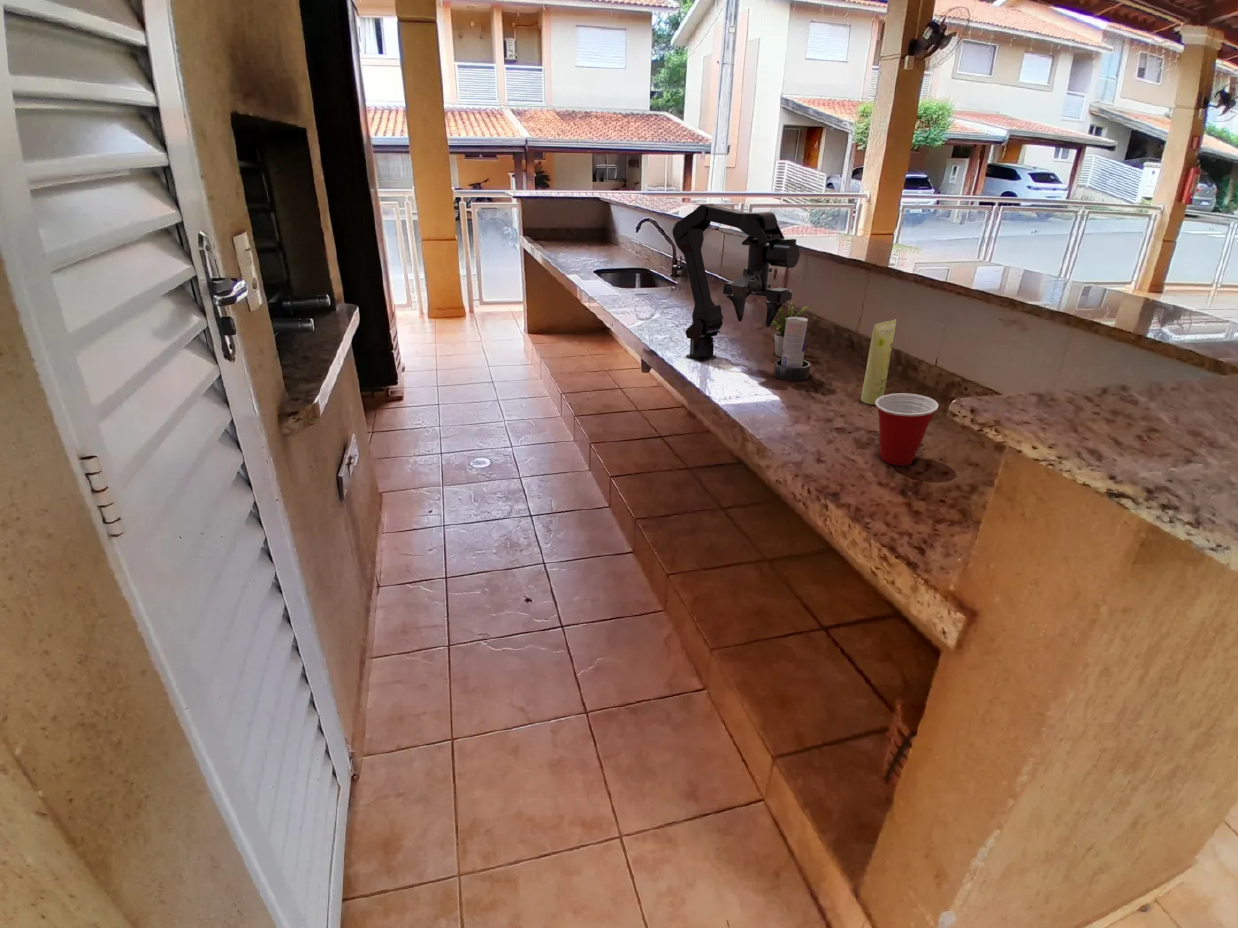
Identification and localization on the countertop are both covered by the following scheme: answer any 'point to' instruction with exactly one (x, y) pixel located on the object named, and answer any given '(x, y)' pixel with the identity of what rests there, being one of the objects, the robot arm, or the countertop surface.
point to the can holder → (792, 371)
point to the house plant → (783, 328)
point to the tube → (878, 361)
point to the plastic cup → (903, 425)
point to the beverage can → (794, 342)
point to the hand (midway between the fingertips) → (753, 324)
